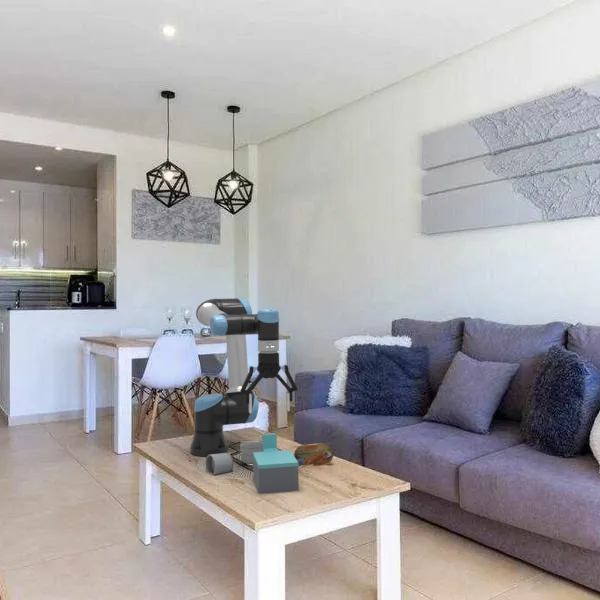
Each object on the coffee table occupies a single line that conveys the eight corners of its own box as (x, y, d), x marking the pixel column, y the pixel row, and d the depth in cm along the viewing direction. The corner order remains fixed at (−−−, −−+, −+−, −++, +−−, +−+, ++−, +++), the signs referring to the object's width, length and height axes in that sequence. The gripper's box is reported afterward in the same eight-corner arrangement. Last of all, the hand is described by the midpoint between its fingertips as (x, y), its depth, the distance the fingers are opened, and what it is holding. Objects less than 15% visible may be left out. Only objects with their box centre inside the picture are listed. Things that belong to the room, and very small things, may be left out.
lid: (251, 454, 196) (250, 434, 196) (286, 451, 199) (286, 432, 199) (258, 472, 176) (258, 450, 176) (298, 469, 178) (298, 447, 178)
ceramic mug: (235, 474, 199) (234, 453, 199) (214, 479, 194) (214, 457, 194) (220, 468, 207) (220, 447, 207) (201, 472, 202) (200, 451, 202)
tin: (295, 469, 205) (295, 446, 205) (293, 466, 208) (293, 444, 208) (333, 465, 209) (333, 443, 209) (330, 463, 212) (330, 441, 212)
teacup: (239, 468, 205) (239, 447, 205) (241, 460, 216) (241, 440, 216) (276, 468, 206) (276, 446, 206) (276, 459, 217) (276, 439, 217)
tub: (253, 481, 190) (253, 455, 190) (290, 478, 193) (289, 453, 193) (258, 496, 176) (258, 468, 176) (298, 493, 178) (298, 466, 178)
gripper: (234, 354, 190) (235, 415, 190) (304, 351, 195) (305, 411, 195) (232, 352, 198) (233, 411, 197) (300, 350, 203) (301, 407, 203)
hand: (269, 411), depth 196 cm, fingers open, 13 cm apart
